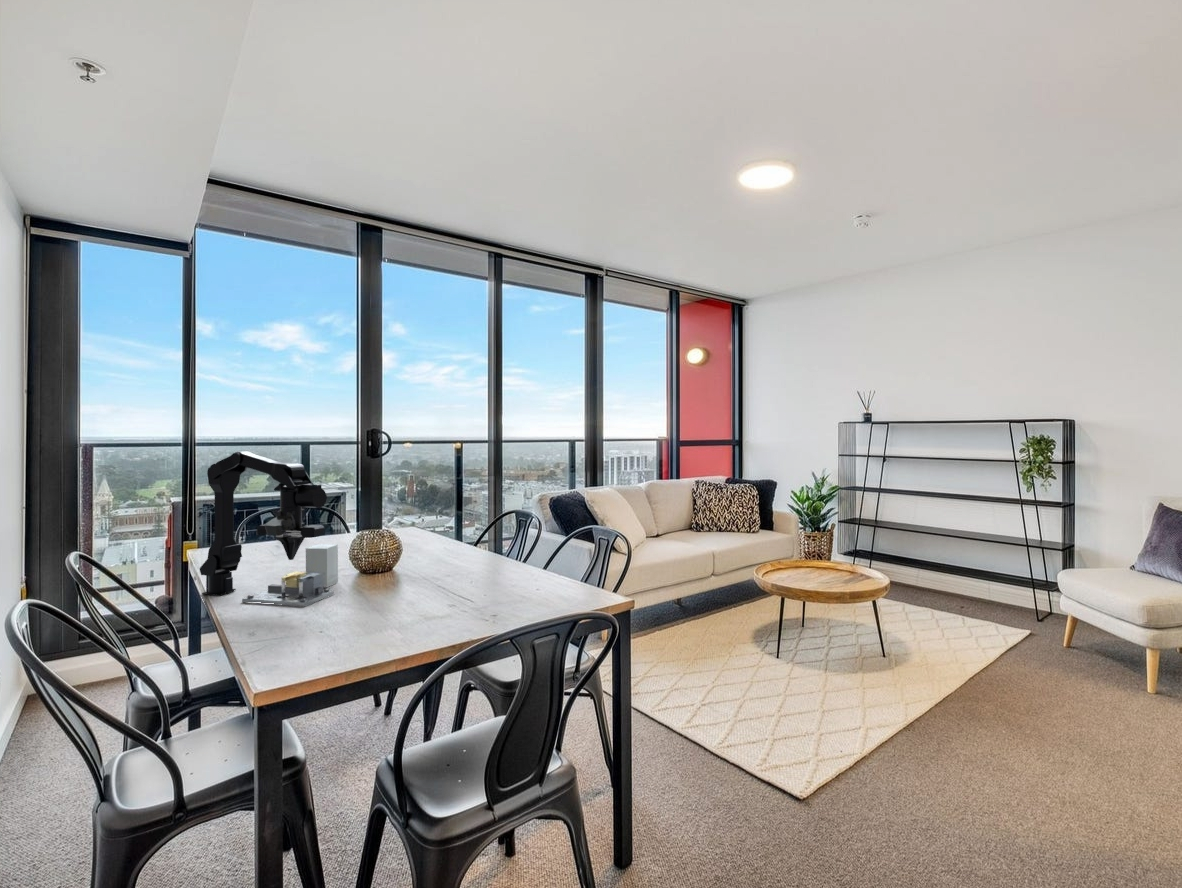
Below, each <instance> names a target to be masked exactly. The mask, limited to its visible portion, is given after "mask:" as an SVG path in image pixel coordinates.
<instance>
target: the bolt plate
mask: <svg viewBox="0 0 1182 888" xmlns="http://www.w3.org/2000/svg"><path fill="white" fill-rule="evenodd" d="M333 594H334V595H335V590H330V588H324V587H323V573H310V574H307V575H304V576H303V577H302V578H299V587H297V588H295V587H286V584H285V596H282V584H277V583H274V584H273V583H272V584H269V585H267V590H266V589H265V590H264V591H263V590H262V591H260V592H258V593H254V594H248V595H247V596H246V597H242V599H241V603H242V602H261V603H274V604H282V605H290V606H289V607H296V606H301V607H300V608H305V607H308V606H310V605H312V604H315V603H317V602H319V601H318V600H320V601H322V600H324V599H326V597H327V598H329V597H331V595H332V596H334V595H333ZM328 596H329V597H328ZM323 598H324V599H323ZM321 599H322V600H321ZM316 601H317V602H316ZM314 602H315V603H314ZM309 604H310V605H309ZM282 605H281V606H282ZM307 605H308V606H307ZM304 606H305V607H304Z"/></svg>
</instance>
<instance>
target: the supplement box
mask: <svg viewBox="0 0 1182 888" xmlns="http://www.w3.org/2000/svg"><path fill="white" fill-rule="evenodd" d="M338 546H339V545H338V544H324V543H323V544H321V543H318V544H314V545H311V546H309V547H306V548H305V572H306V575H307V574H310V573H323V588H329V587H331V586H333V585H335V583H336V584H338V583H339V551H338V549H339V547H338Z"/></svg>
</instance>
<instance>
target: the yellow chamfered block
mask: <svg viewBox="0 0 1182 888" xmlns="http://www.w3.org/2000/svg"><path fill="white" fill-rule="evenodd" d="M304 575H306V571H293V572H290V573H288V574H285V576H282V577H281V585H282V596H285V585H286V587H295V588H297V587H299V578H302V577H303V576H304Z"/></svg>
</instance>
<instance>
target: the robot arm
mask: <svg viewBox="0 0 1182 888" xmlns="http://www.w3.org/2000/svg"><path fill="white" fill-rule="evenodd" d="M247 469H252V470H254V471H257V472H260V473H264V474H267V475H269V476H271V478H272V479H273V480H274V481H276V482H278V485H276V486H275V487H274V488H273V491H275V492H279V494H280V495H279V498H280V499H279V504H280V505H279V510H277V511H276V516H275V517H274V518H272V519H270V520H269V521H267V522H266V523H264V524H260V525H258V527H257V528H256V536H264V537H265V536H274V537H273V538H274V539H275V540H277V541H278V542H280V543H281V545H282V546H283V549H284V551H285V554H286V557H287V559H288V560H289V561H293V560H294V559H295V557H296V555H297V552H298V551H299V549H300V546H301V545H302V544H303V542H304V540H305V538H311V539H312V538H316V537H317V538H318V537H321V536H325V535H326V528H325V526H324V525H322V524H320V525H319V524H310V525H307V526H306V524H305V523H306V522H303V514H304V513H306V509H305V508H310V509H312V508H313V509H320V508H323V507H324V506H325V505H326V503H327V498H328V495H327V493H326V491H325V490H324V489H323V488H322V484H321V483H317V484H316V483H315V484H314V482H313V481H312V479H311V478H310V476H309V474H308V473H307V470H306V469H305V465H303V464H302V463H300V462H299V463H297V462H282V461H281V462H280V461H277V460H273V459H271V458H268V457H265V456H262V455H258V454H254V453H253V452H250V451H236V452H234V453H232V454H231V455H230V456H228V457H225V458H224V459H220V460H219V461H217V462H216V463H213V464H211V465H210V466H209V467H208V468H207V471H206V472H207V473H206V474H207V481H208V485H209V486H210V488H211V490H212V491H213V492H214V540H213V542H212V543H211V545H210V546H209V548H208V553H207V559H206V560H205V561H204V563H203V564H202V565H201V566H200V567H199V572H200V575H201V576H206V577H205V578H206V581H205V587H206V588H205V591H204V592H202V593H201V594H202V595H205V596H223V595H225V593H226V594H229V593H232V592H235V591H237V590H236V588H234V587H233V585H234V584H233V583H234V582H233V581H234V580H233V579H234V578H233V574H232V573H233V571H237V569H238V567H239V564H240V562H241V558H242V557H243V554H242V548H243V547H242V543H237V541H236V540H235V538H234V531H235V529H234V528H235V526H234V525H235V524H234V523H235V521H234V519H235V516H234V512H235V511H234V509H235V507H234V501H235V500H234V495H235V491H236V489H237V488H238V486H239V484H240V478H241V475H242V474H244V473H245V472H246V471H247ZM234 590H235V591H234ZM231 591H232V592H231ZM228 592H229V593H228ZM222 594H223V595H222Z"/></svg>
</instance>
